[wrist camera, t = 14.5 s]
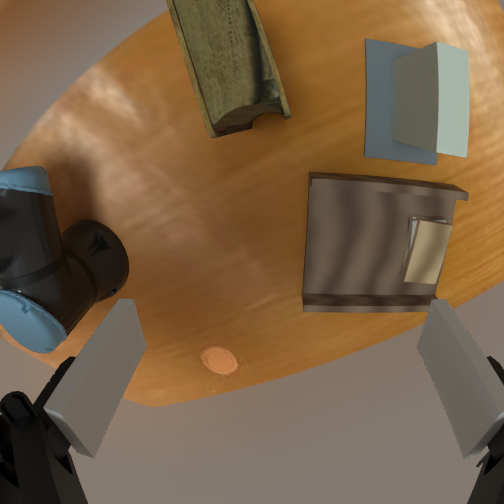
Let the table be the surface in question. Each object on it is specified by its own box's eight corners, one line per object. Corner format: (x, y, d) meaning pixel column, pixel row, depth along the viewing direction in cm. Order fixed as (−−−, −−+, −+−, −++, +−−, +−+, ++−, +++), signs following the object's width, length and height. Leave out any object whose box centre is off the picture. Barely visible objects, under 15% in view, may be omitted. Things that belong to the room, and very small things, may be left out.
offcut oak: (402, 278, 45) (404, 281, 44) (417, 218, 41) (420, 220, 40) (433, 281, 45) (435, 284, 44) (449, 223, 41) (452, 225, 40)
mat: (364, 156, 42) (364, 156, 41) (364, 39, 34) (365, 38, 34) (435, 164, 41) (436, 165, 40) (437, 54, 33) (438, 53, 33)
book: (218, 28, 36) (151, -48, 13) (255, 17, 35) (222, -73, 12) (250, 128, 42) (209, 141, 19) (288, 119, 41) (292, 118, 18)
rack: (302, 294, 52) (303, 311, 47) (309, 172, 44) (312, 178, 39) (430, 295, 50) (440, 311, 45) (453, 185, 41) (468, 192, 37)
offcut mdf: (404, 278, 46) (405, 281, 45) (410, 218, 42) (412, 221, 41) (435, 275, 45) (437, 278, 44) (443, 218, 41) (446, 220, 40)
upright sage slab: (390, 139, 40) (436, 152, 26) (391, 61, 35) (436, 41, 21) (415, 143, 39) (466, 157, 26) (416, 66, 34) (467, 51, 21)
